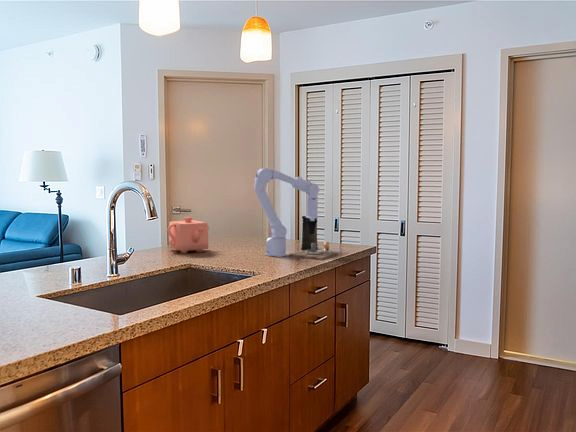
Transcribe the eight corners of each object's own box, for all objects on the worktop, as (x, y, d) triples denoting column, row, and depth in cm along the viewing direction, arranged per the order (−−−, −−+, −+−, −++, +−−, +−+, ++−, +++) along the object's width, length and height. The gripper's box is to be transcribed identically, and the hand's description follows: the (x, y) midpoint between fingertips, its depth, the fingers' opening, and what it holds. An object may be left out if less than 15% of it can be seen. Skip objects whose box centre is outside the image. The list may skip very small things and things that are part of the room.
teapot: (222, 253, 263) (221, 218, 261) (180, 257, 250) (179, 220, 248) (201, 247, 283) (200, 214, 282) (161, 250, 270) (161, 216, 269)
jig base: (288, 256, 253) (288, 244, 252) (306, 252, 268) (307, 240, 268) (321, 260, 244) (321, 247, 243) (338, 255, 259) (338, 242, 258)
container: (320, 249, 278) (321, 216, 276) (312, 251, 270) (312, 217, 269) (306, 247, 283) (306, 215, 281) (297, 249, 275) (298, 216, 274)
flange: (309, 254, 251) (309, 244, 250) (303, 252, 258) (303, 241, 258) (332, 253, 255) (332, 243, 254) (325, 250, 262) (325, 241, 262)
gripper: (320, 208, 251) (320, 235, 252) (318, 206, 265) (318, 232, 266) (306, 208, 251) (306, 235, 252) (305, 206, 265) (304, 232, 266)
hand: (311, 234), depth 259 cm, fingers closed
